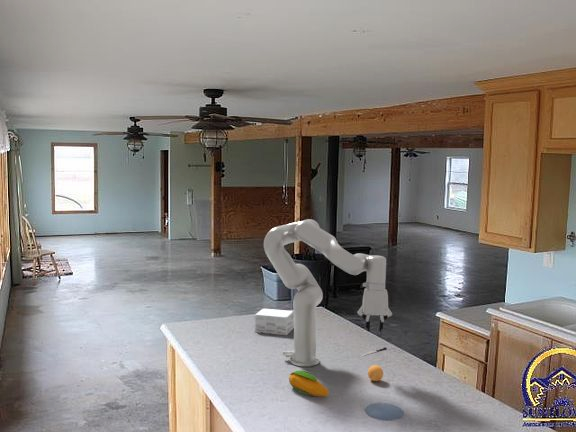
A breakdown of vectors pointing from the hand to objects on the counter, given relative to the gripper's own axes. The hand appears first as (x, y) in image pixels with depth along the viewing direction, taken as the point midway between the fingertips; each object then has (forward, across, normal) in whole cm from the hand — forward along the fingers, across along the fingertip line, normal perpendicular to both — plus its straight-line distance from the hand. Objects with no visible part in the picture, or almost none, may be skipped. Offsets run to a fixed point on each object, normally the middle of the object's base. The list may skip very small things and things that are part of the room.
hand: (374, 330), depth 221 cm
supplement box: (+18, -44, +52) cm, 71 cm away
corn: (+18, -26, -24) cm, 39 cm away
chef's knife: (+18, +2, +24) cm, 30 cm away
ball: (+14, 0, -10) cm, 17 cm away
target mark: (+17, 0, -36) cm, 40 cm away
